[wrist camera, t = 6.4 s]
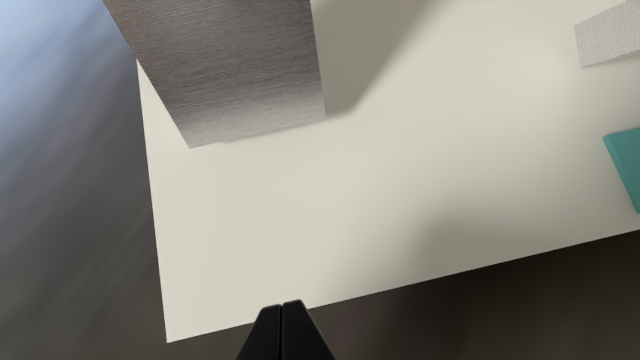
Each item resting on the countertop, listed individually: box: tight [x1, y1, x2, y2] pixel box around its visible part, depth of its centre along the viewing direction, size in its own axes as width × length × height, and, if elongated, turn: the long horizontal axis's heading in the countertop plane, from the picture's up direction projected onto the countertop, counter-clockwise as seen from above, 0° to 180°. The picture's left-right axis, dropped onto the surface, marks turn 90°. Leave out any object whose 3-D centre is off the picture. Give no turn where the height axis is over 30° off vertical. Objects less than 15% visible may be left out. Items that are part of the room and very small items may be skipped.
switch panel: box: [137, 0, 640, 343], centre depth 16 cm, size 14×24×3 cm, turn 103°
